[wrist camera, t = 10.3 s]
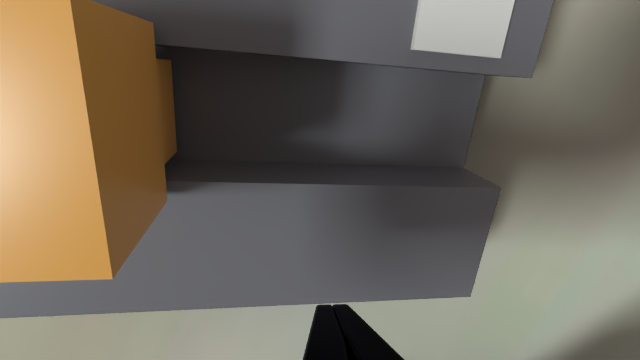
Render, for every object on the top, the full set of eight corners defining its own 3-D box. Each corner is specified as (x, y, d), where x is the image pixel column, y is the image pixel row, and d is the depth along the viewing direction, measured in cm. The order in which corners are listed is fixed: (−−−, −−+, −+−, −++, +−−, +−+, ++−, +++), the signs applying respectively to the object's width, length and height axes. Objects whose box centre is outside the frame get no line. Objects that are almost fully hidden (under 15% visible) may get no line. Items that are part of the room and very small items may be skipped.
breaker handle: (177, 31, 11) (69, -8, 5) (185, 175, 12) (112, 279, 6) (57, 19, 10) (-238, -42, 4) (82, 172, 12) (-104, 285, 6)
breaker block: (492, -57, 13) (588, -106, 9) (426, 247, 18) (473, 299, 14) (-73, -153, 10) (-298, -296, 6) (27, 253, 14) (-61, 325, 10)
